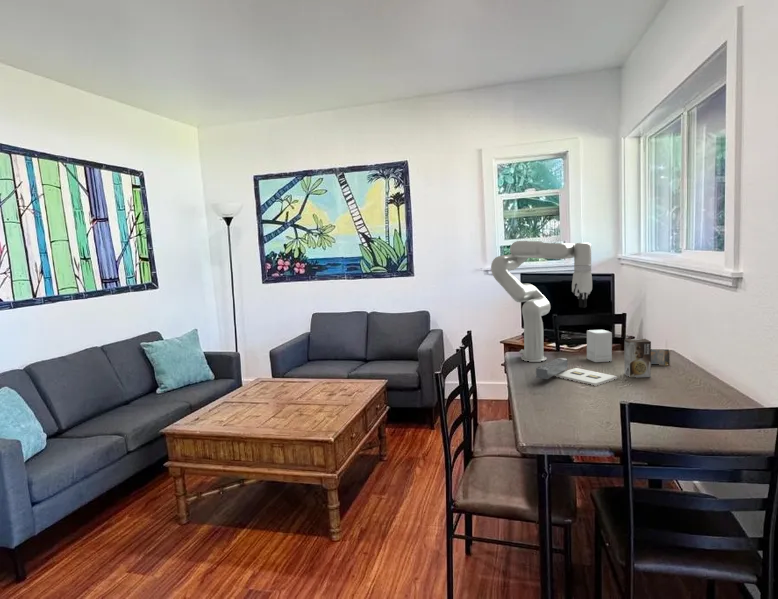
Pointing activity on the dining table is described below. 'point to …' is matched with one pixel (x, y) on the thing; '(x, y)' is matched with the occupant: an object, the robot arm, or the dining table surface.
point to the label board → (586, 376)
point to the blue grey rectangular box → (660, 356)
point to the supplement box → (599, 345)
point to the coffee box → (637, 358)
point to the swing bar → (551, 368)
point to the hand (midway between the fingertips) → (582, 307)
